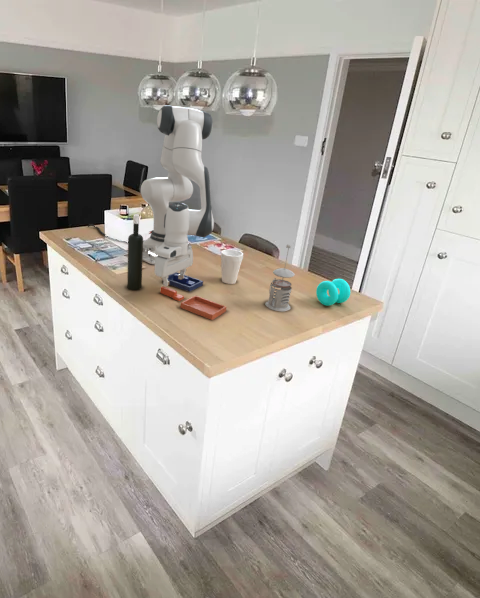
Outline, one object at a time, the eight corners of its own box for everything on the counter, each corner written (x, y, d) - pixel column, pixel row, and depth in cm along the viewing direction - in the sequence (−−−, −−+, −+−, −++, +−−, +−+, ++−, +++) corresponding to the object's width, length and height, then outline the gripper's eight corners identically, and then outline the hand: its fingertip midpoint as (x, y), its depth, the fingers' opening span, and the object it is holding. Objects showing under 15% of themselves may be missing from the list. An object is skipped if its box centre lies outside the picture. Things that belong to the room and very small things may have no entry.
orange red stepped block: (159, 293, 166) (159, 287, 165) (164, 291, 168) (164, 285, 167) (179, 301, 161) (179, 295, 159) (183, 298, 163) (184, 292, 162)
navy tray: (162, 282, 177) (162, 277, 176) (176, 276, 184) (176, 272, 183) (189, 291, 169) (189, 287, 169) (202, 285, 177) (203, 281, 176)
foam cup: (238, 286, 178) (242, 257, 173) (217, 283, 180) (220, 254, 174) (240, 278, 187) (244, 251, 181) (219, 275, 188) (222, 248, 183)
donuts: (348, 306, 167) (354, 283, 163) (331, 310, 163) (337, 286, 159) (329, 296, 175) (334, 274, 171) (312, 300, 170) (317, 277, 166)
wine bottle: (131, 291, 166) (133, 216, 153) (124, 286, 170) (126, 213, 158) (144, 288, 169) (146, 215, 157) (137, 283, 173) (139, 212, 161)
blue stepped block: (171, 280, 178) (172, 275, 177) (176, 278, 180) (176, 273, 179) (191, 287, 173) (191, 281, 172) (195, 285, 175) (195, 279, 174)
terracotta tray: (180, 307, 155) (180, 302, 155) (194, 299, 163) (195, 295, 162) (212, 320, 148) (212, 315, 147) (226, 311, 155) (226, 306, 154)
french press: (295, 306, 163) (307, 245, 153) (278, 314, 156) (290, 251, 145) (274, 298, 169) (285, 239, 159) (257, 305, 162) (267, 243, 151)
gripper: (184, 240, 165) (182, 273, 171) (152, 251, 150) (150, 286, 155) (198, 244, 162) (195, 277, 168) (165, 255, 147) (164, 291, 152)
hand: (173, 282), depth 161 cm, fingers open, 8 cm apart
